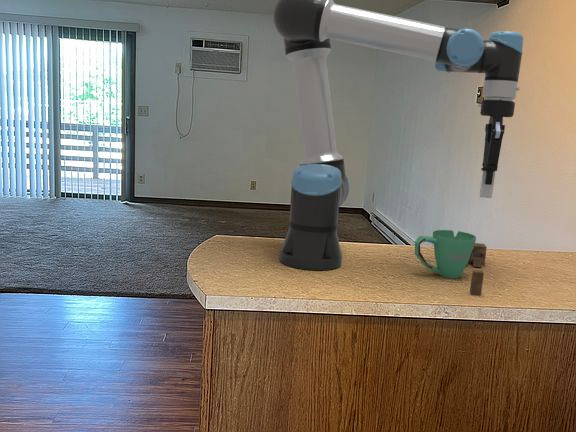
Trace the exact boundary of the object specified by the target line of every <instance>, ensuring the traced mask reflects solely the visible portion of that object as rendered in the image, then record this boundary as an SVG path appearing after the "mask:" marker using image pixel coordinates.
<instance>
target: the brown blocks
mask: <svg viewBox="0 0 576 432" xmlns="http://www.w3.org/2000/svg"><path fill="white" fill-rule="evenodd" d="M472 253H480V255H481V256H482V258H483V260H482V267H483V266H485V262H486V256H487V245H486V244H485V243H479V242H475V244H474V247H473V250H472V252H471V255H470V258H469V260H468V263H467V265H466V267H468V265H471V264H472V262H471V257H472ZM466 267H465V268H466ZM484 274H485V273H484V271H483V270H480V269H472V273H471V282H470V288H469V293H470V295H471V296H480V297H481V296H482V292H483V291H482V290H483V289H482V288H483V283H484V282H483V281H484V276H485V275H484Z"/></svg>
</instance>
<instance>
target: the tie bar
mask: <svg viewBox="0 0 576 432" xmlns="http://www.w3.org/2000/svg"><path fill="white" fill-rule="evenodd" d="M482 260H483V258H482V256H481V255H480V253H472V257H471V264H472V266H473V267H475V268H477V267H478V268H482V267H483V265H482Z"/></svg>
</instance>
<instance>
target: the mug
mask: <svg viewBox="0 0 576 432" xmlns="http://www.w3.org/2000/svg"><path fill="white" fill-rule="evenodd" d="M476 241H477V236H476V235H474V234H472V233H469V232H465V231H459V230H458V231H457V233H456V235H455V233H454V230H452V229H451V230H450V229H438V230H433V231H432V236H428V235H419V236H418V237H417V238H416V239H415V241H414V255H415V257H416V258H417V259H418V260H419V261H420V263H422V265H423V266H424V268H426V269H429V270H431V271H432V272H435V273H437V274H439V276H441V277H444V278H448V279H459V278H461V276H462V274H463V273H464V271H465V269H466V265H467V266H468V264H467V263H468V260H469V258H470V255H471V252H472V250H473V247H474V244H475V243H476ZM425 242H428V243H430V244H432V245H433V251H434V253H433V254H434V260H435V265H436V266H434V265H432V264H430V263H428V262H427V260H426V259H425V257H424V256H423V254H422V251H421V245H422V243H425Z"/></svg>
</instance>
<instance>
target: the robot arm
mask: <svg viewBox="0 0 576 432" xmlns="http://www.w3.org/2000/svg"><path fill="white" fill-rule="evenodd" d="M272 16H273V17H272V20H273V25H274V27H275V30H276V31H277V32H278V34H280V36H281V37H282V38H283V43H284V44H283V45H284V52H285V58H286V59H288V60H289V61H290V62H291V63H292V68H293V76H294V84H295V85H294V86H295V91H296V93H295V94H296V99H297V100H296V101H297V107H298V108H297V109H298V116H299V124H300V132H301V133H300V134H301V141H302V148H303V158H302V159H301V160H300V162H299V163H298V166H296V167H295V169H294V170H293V171H292V177H291V180H290V181H291V182H290V185H291V193H290V209H289V221H288V222H289V224H288V231H287V233H286V236H285V238H284V241H283V244H282V246H281V249H280V252H279V261H280V262H281V263H282V264H284V265H286V266H287V267H291V268H295V269H301V270H309V271H310V270H311V271H328V270H335V269H337V268H339V267H340V268H341V266H342V263H343V254H342V250H341V247H340V246H341V244H340V242H339V237H338V224H339V223H338V222H339V209H340V207H341V206H342V205H343V204H344V203H345V201H346V200H347V198H348V195H349V192H350V182H349V178H348V176H347V174H346V168H345V160H344V156H342V155H341V154H340V153H338V149H337V140H336V133H335V126H334V125H335V124H334V123H335V122H334V117H333V116H334V113H333V107H332V100H331V98H332V97H331V89H330V81H329V73H328V66H327V65H328V64H327V57H328V55H330V53H331V52H332V47H331V40H334V41H339V42H343V43H347V44H353V45H358V46H362V47H367V48H371V49H376V50H381V51H385V52H390V53H394V54H398V55H399V54H400V55H403V56H404V55H405V56H409V57H413V58H419V59H423V60H427V61H431V62H434V64H435V65H434V68H435V70H436V71H438V72H445V73H477V74H484V81H483V88H482V89H483V90H482V94H481V97H482V98H484V99H482V101H481V106H480V111H479V112H480V113H479V114H480V115H481V116H483V117H489V120H488V123H486V124H485V128H484V131H485V136H484V147H483V148H484V149H483V157H482V167H481V168H480V170H481V172H482V174H481V183H480V190H479V198H484V199H492V198H493V192H494V185H495V184H494V183H495V178H496V172H497V171H498V167H499V159H500V154H501V149H502V148H501V147H502V142H503V138H504V137H503V136H504V134H505V130H506V129H505V128H506V125H505V124H503V123H504V118H513V117H514V113H515V107H516V103H515V101H513V100H515V99H517V91H520V86H519V85H518V84H519V83H518V82H519V77H520V70H521V65H522V64H521V63H522V56H523V47H524V45H523V43H524V36H523V35H522V33H520V32H517V31H511V30H505V31H504V30H503V31H494V32H492V33H490V35H489V38H488V39H486V40H484V39H483V37H482V35H481V34H480V33H479V32H478V31H476V30H475V29H473V28H472V29H471V28H462V29H458V28H452V27H446V26H442V25H439V24H433V23H430V22H424V21H419V20H415V19H410V18H405V17H399V16H395V15H391V14H386V13H380V12H376V11H372V10H366V9H363V8H357V7H352V6H347V5H343V4H338V3H335V1H334V0H277V2H276V3H275V6H274V9H273V15H272Z"/></svg>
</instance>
